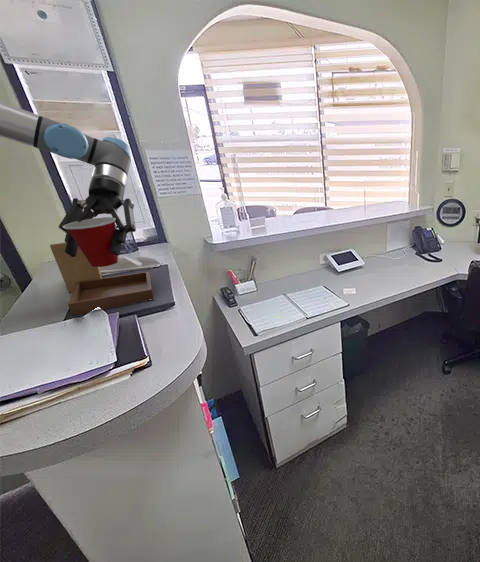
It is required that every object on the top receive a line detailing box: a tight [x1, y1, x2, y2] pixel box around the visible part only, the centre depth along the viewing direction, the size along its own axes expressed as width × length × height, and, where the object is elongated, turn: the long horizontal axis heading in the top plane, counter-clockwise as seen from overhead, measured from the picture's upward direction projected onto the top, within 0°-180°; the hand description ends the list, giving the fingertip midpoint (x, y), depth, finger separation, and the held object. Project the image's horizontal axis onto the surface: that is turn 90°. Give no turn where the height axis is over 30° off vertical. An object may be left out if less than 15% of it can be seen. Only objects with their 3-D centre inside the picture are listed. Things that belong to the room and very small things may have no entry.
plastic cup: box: [62, 216, 119, 267], centre depth 83 cm, size 11×11×12 cm
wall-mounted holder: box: [99, 255, 162, 275], centre depth 111 cm, size 6×5×20 cm
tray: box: [67, 271, 155, 316], centre depth 90 cm, size 18×18×3 cm
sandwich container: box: [49, 241, 103, 293], centre depth 97 cm, size 9×15×15 cm, turn 42°
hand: (92, 253), depth 81 cm, fingers closed on plastic cup, 9 cm apart
